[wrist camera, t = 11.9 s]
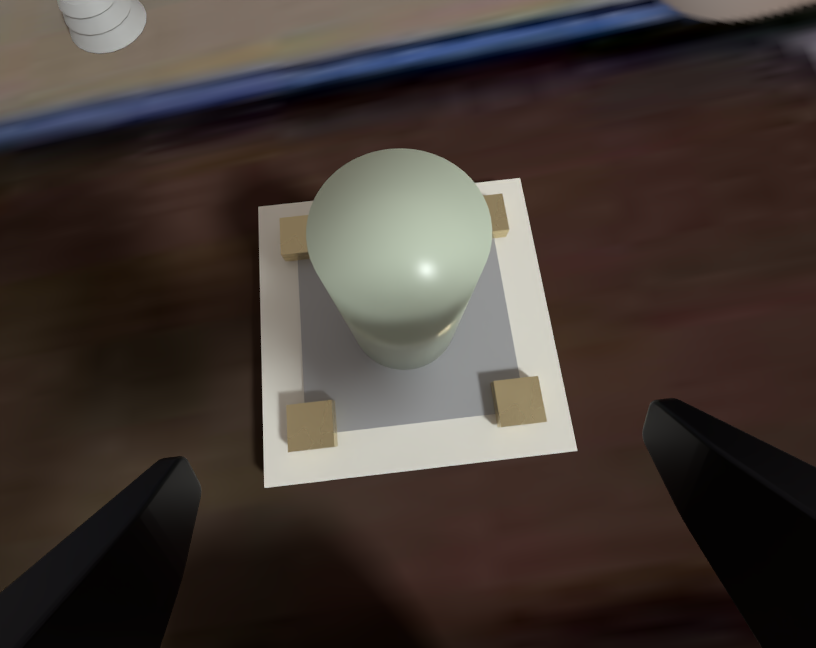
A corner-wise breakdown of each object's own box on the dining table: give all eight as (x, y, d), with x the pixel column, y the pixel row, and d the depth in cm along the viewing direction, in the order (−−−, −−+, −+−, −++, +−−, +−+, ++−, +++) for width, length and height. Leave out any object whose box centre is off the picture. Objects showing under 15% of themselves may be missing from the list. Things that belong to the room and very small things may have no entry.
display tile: (565, 449, 20) (586, 451, 17) (275, 483, 19) (255, 490, 17) (513, 193, 23) (524, 166, 21) (268, 221, 23) (250, 196, 21)
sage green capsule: (373, 386, 19) (342, 346, 10) (337, 291, 20) (282, 183, 11) (472, 346, 19) (523, 276, 11) (431, 255, 20) (447, 125, 12)
